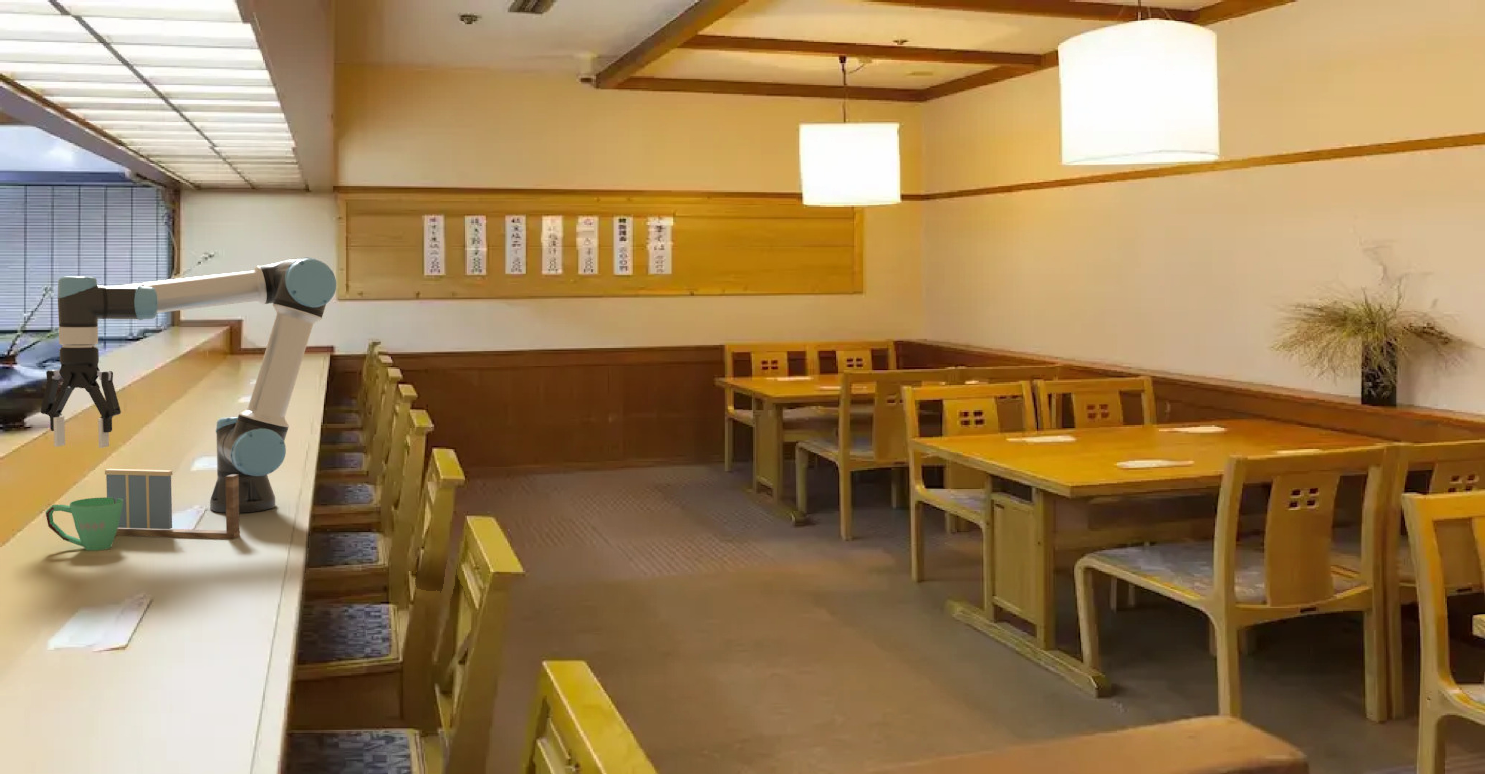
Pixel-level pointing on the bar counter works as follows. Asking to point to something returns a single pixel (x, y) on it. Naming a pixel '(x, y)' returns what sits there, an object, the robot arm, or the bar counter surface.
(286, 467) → the bar counter surface
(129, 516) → the panel
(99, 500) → the mug
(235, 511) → the brown wooden rack
